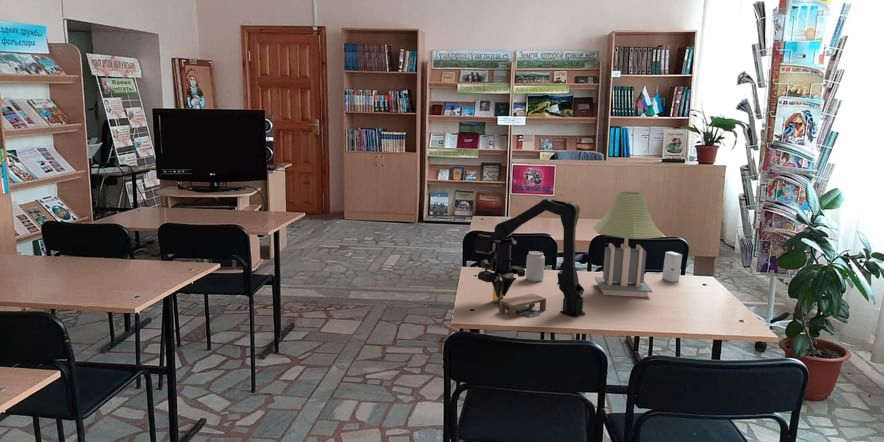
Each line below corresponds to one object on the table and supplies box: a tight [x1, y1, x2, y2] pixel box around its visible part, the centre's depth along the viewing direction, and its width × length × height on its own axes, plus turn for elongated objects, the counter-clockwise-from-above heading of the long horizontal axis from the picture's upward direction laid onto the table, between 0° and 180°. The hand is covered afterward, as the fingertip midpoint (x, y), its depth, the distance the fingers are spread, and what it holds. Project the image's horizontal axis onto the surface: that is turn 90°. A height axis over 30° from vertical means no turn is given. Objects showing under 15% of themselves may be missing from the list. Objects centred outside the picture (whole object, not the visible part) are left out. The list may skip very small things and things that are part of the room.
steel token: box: [519, 309, 541, 319], centre depth 224 cm, size 5×5×1 cm
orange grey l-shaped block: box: [492, 281, 533, 315], centre depth 232 cm, size 16×6×8 cm, turn 36°
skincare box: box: [661, 251, 683, 283], centre depth 277 cm, size 6×4×12 cm
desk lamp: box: [593, 190, 663, 298], centre depth 255 cm, size 26×28×40 cm
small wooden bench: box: [498, 293, 547, 319], centre depth 227 cm, size 7×16×4 cm, turn 126°
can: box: [525, 250, 546, 283], centre depth 270 cm, size 8×8×12 cm
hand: (500, 296), depth 237 cm, fingers closed on orange grey l-shaped block, 2 cm apart
